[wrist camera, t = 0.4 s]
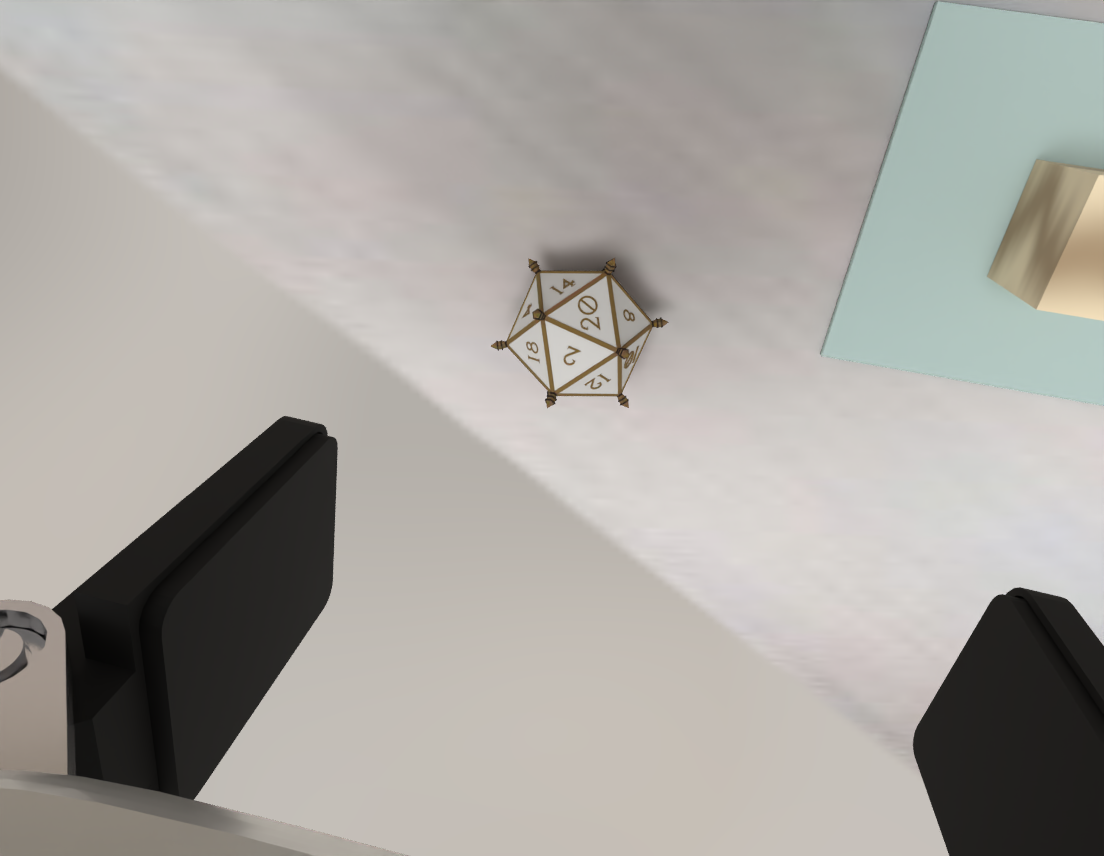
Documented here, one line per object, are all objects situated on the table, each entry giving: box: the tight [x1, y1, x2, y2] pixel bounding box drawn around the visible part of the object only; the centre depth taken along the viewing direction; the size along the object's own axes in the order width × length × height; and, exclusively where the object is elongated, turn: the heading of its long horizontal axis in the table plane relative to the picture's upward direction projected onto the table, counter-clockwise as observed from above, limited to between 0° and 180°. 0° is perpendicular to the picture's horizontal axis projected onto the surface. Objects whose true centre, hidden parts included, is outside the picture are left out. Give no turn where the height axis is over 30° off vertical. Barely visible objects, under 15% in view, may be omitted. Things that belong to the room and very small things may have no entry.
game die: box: [491, 258, 668, 408], centre depth 40 cm, size 9×8×10 cm
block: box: [987, 159, 1104, 321], centre depth 34 cm, size 6×6×6 cm
